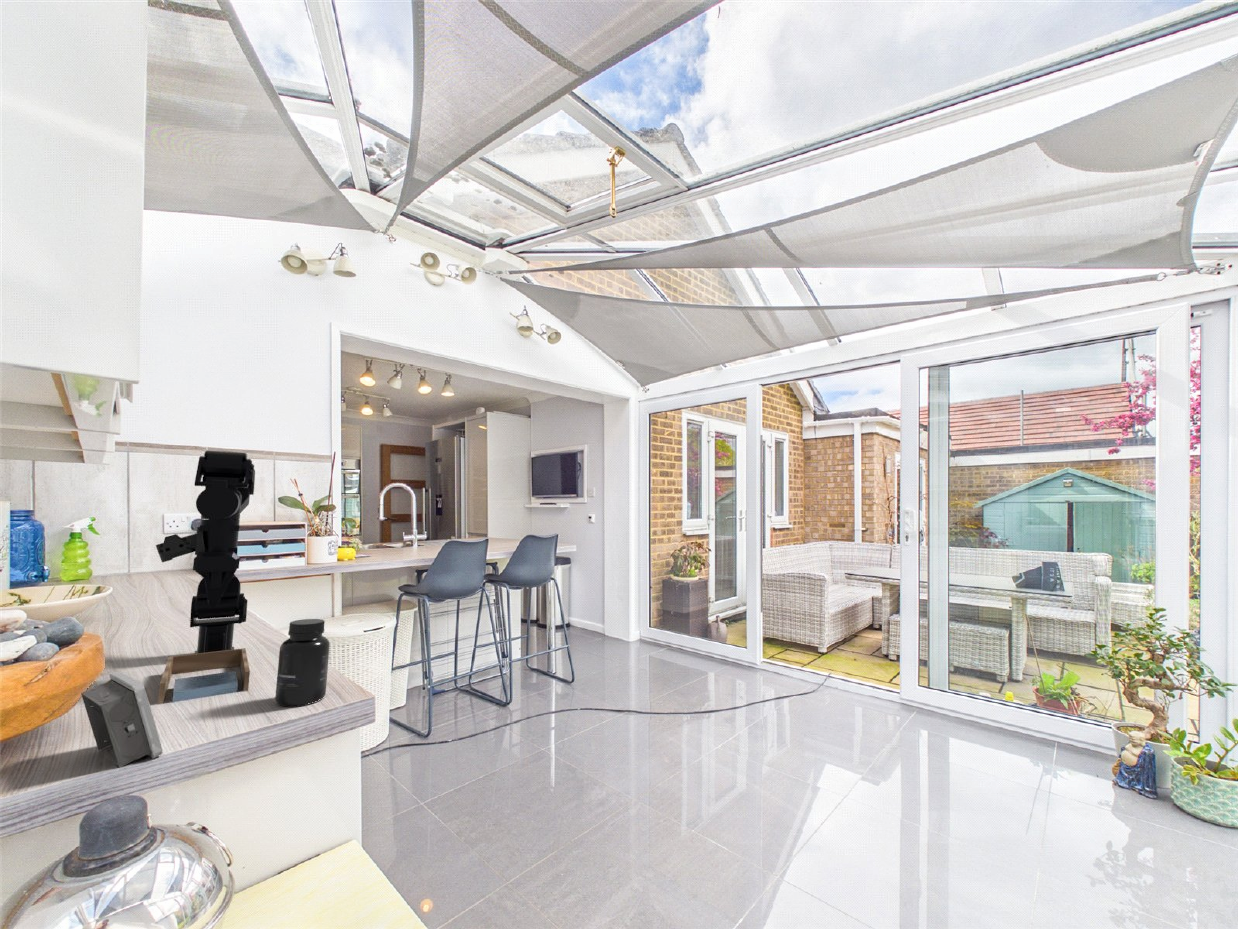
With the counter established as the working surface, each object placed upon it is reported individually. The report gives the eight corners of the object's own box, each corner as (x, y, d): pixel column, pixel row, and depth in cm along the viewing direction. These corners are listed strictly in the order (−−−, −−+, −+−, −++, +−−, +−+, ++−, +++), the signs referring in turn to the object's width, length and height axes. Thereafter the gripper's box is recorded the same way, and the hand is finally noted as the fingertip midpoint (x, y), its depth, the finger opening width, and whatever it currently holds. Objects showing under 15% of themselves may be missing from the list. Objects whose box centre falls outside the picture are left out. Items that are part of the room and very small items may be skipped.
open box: (167, 674, 94) (169, 656, 95) (244, 664, 101) (245, 648, 101) (157, 704, 80) (159, 683, 80) (248, 690, 86) (249, 671, 87)
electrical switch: (164, 757, 62) (162, 678, 63) (104, 780, 58) (102, 695, 58) (136, 739, 68) (135, 666, 68) (80, 758, 63) (78, 680, 63)
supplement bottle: (270, 710, 78) (276, 626, 79) (280, 695, 84) (285, 618, 85) (323, 704, 80) (328, 624, 82) (328, 691, 87) (333, 616, 88)
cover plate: (173, 692, 87) (175, 679, 87) (233, 682, 92) (234, 670, 92) (172, 705, 81) (173, 692, 81) (236, 694, 86) (237, 682, 86)
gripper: (166, 518, 99) (158, 603, 98) (157, 519, 84) (147, 619, 83) (239, 519, 106) (232, 598, 104) (243, 520, 91) (235, 613, 89)
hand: (212, 606), depth 95 cm, fingers closed
